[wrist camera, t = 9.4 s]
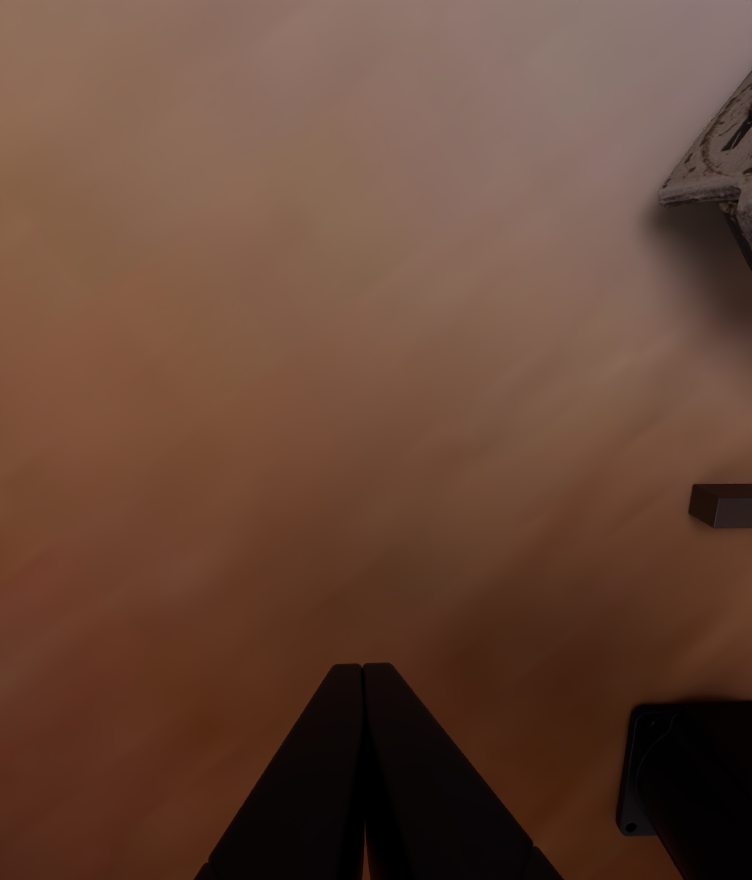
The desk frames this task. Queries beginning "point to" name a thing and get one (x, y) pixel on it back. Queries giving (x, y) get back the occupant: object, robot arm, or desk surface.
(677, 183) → the mechanical counter
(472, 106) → the desk surface
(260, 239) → the desk surface
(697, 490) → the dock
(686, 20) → the desk surface
